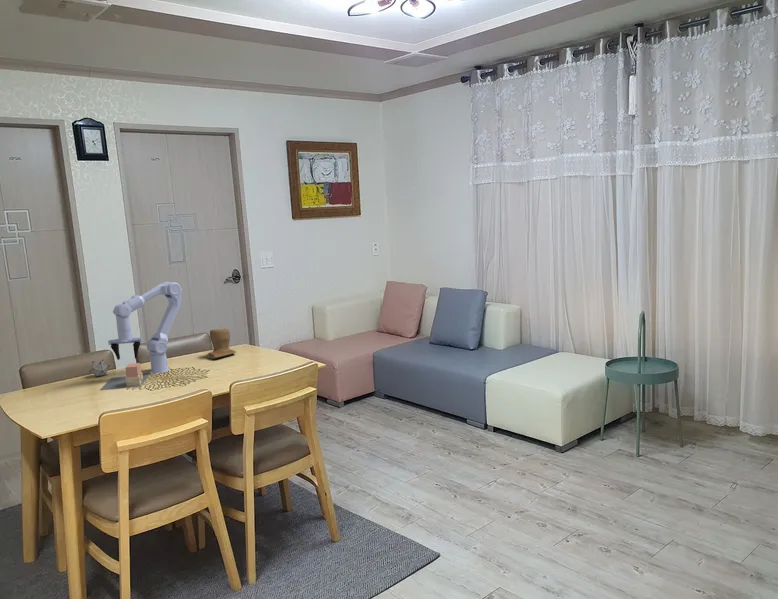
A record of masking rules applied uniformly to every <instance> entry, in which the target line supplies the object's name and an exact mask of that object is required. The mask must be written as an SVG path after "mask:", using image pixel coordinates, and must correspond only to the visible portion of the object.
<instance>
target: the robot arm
mask: <svg viewBox="0 0 778 599" xmlns="http://www.w3.org/2000/svg"><path fill="white" fill-rule="evenodd" d="M182 292H183V289H182V287H181V285H180V284H179V283H178V282H173V281H172V282H171V281H164V282H162V283H159V284H158V285H156V286H155V287H153V288H151V289H150V290H148V291H146V292H145V293H143V294H142V295H137V294H136V295H132V296H131V298H129V299H127V300H123V301H122V303H118V304H116V305H115V306H114V308H113V310H112V313H113V314H114V315H115V319H116V322H115V323H116V329H117V339H110V340H107V343H108V346H110V348H111V349H112V351H113V353H114V355H115V356H116V359H117V361H119V360H121V356H120V350H119V349H120V345H121V344H132V346H133V353H134V359H137V358H138V353H139V349H140V346H141V343H143V337H132V328H131V327H132V326H131V320H130V316H131V313H133V312H134V311H136V310H138V309H140V308H142V307H144V306H145V305H144V304H145V302H148V301H149V300H151V299H154V298H155V297H157V296H159V295H164V296H165V298H166V299H167V301H168V305H167V307H166V309H165V312H164V315H163V316H162V318H161V321H160V322H159V325H158V328H157V330H156V332H155V333H154V334H153V335H152V336H151V338H150V339H149V340H148V341H147V342H146V349H147V351H149V361H150V371H149V372H148V374H150V375H151V374H159V373H160V374H161V373H162V374H163V373H167V372H168V371H169V369H170V366H168V357H167V353H166V351H167V349H168V343H169V339H168V336H169V333H170V332H171V329H172V326H173V324H174V321H175V319H176V317H177V315H178V312H179V310H180V308H181V305H182V302H183V301H182V300H183V299H182Z"/></svg>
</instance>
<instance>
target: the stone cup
mask: <svg viewBox="0 0 778 599" xmlns="http://www.w3.org/2000/svg"><path fill="white" fill-rule="evenodd" d="M230 333H231V332H230V329H229V328H227V327H226V328H215V329H210V331H209V339H210V342H211V344H212V347H213V350H212V351H210V352H209V353H207V357H208V358H209V359H211V360H215V359H221V358H223V357H227V356H230V355H232V354H236V353H237V351H236V350H233V349H231V348H230V340H231V334H230Z"/></svg>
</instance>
